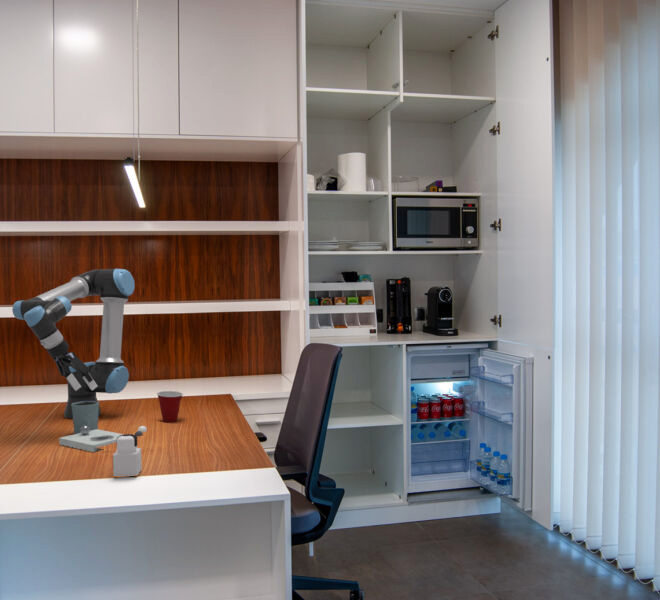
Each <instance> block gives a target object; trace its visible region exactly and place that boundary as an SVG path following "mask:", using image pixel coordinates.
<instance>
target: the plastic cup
mask: <svg viewBox="0 0 660 600" xmlns="http://www.w3.org/2000/svg"><path fill="white" fill-rule="evenodd" d="M156 395H157V398H158V401H159V402H158V403H159V407H160V408H159V409H160V413H161V418H162V421H163V422H165V423H173V422H177V421H178V418H179V412H180V406H181V401H182V398H183V395H184V393H183V392H181V391H175V390H162V391H158V392H156Z"/></svg>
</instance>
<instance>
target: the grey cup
mask: <svg viewBox="0 0 660 600" xmlns="http://www.w3.org/2000/svg"><path fill="white" fill-rule="evenodd" d="M71 406H72V414H73V419H72V424H73V435H74V434H78V433H81V432H80V428H81V427H82V426H84V425H87V426H89V427H90V431H91V430H96V429H99V425H98V424H99V415H98V410H99V406H100V401H81V402H75V403H72V404H71Z"/></svg>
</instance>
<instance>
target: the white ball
mask: <svg viewBox="0 0 660 600" xmlns="http://www.w3.org/2000/svg"><path fill="white" fill-rule="evenodd" d="M137 431H141V432H142V433H146V432H148V429H147V427H146V426H145V425H140V426H138V428H137Z"/></svg>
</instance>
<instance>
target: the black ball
mask: <svg viewBox="0 0 660 600" xmlns="http://www.w3.org/2000/svg"><path fill="white" fill-rule="evenodd" d="M143 434H144V432H141V431H138V430H137V431H136V432H135V433H134V435H136V436H137V437H140V436H143Z"/></svg>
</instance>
